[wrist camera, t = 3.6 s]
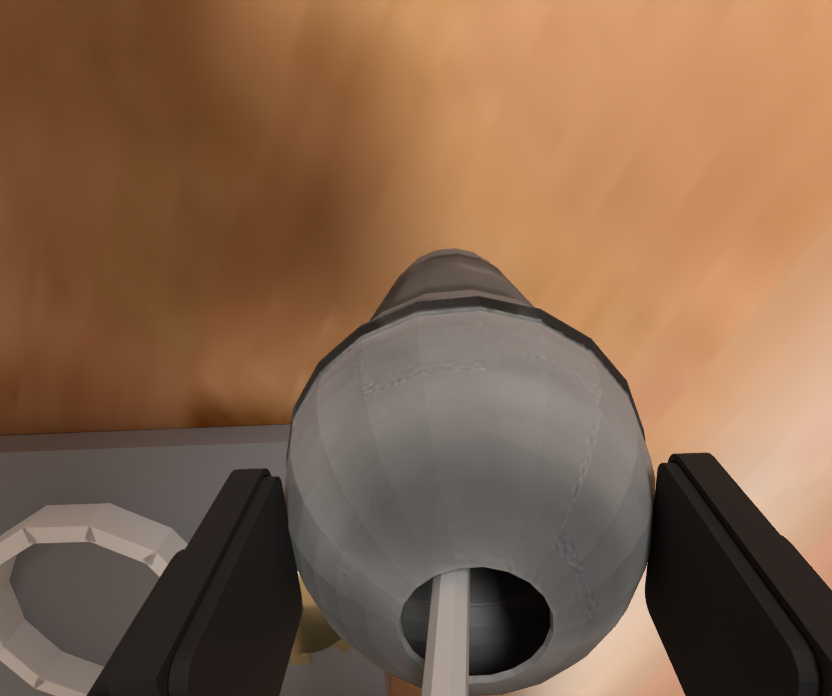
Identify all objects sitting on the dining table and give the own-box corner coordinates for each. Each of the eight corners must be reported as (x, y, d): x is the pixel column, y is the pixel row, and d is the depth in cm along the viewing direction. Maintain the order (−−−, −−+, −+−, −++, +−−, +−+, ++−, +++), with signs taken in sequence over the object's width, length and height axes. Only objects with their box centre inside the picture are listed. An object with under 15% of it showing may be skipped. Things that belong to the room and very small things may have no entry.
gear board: (-184, 442, 26) (-261, 481, 23) (361, 421, 24) (351, 459, 21) (-57, 693, 31) (-105, 748, 28) (390, 687, 30) (386, 744, 27)
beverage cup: (422, 418, 24) (375, 1413, 5) (321, 278, 22) (-324, 1107, 3) (576, 332, 22) (1270, 1331, 4) (482, 171, 20) (994, 625, 2)
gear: (205, 534, 25) (190, 560, 23) (362, 529, 24) (358, 555, 23) (233, 651, 27) (222, 681, 26) (376, 649, 27) (373, 679, 25)
